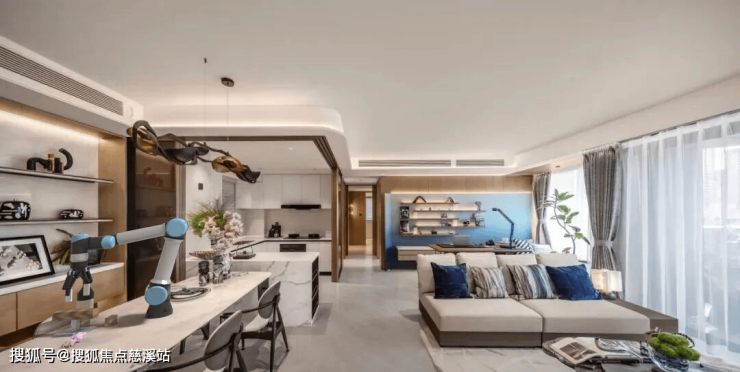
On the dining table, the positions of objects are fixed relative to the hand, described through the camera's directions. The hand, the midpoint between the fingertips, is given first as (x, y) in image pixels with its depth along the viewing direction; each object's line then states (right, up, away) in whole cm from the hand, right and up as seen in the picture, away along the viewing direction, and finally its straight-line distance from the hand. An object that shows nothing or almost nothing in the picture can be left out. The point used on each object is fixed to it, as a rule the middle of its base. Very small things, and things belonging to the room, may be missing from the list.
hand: (77, 298), depth 179 cm
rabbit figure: (+14, -18, -16) cm, 28 cm away
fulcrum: (0, -19, -2) cm, 19 cm away
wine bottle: (-16, -22, +22) cm, 34 cm away
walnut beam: (0, -11, -1) cm, 11 cm away
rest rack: (+3, -20, +9) cm, 22 cm away
